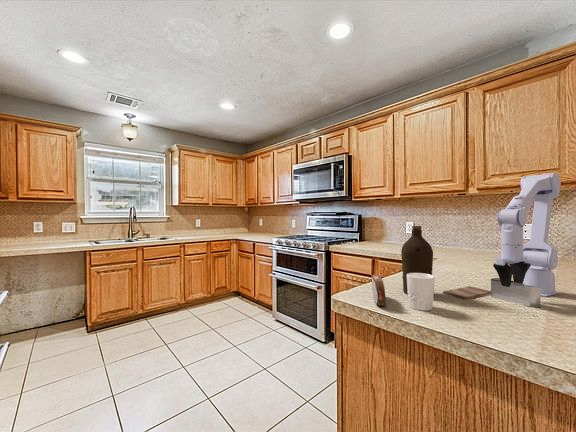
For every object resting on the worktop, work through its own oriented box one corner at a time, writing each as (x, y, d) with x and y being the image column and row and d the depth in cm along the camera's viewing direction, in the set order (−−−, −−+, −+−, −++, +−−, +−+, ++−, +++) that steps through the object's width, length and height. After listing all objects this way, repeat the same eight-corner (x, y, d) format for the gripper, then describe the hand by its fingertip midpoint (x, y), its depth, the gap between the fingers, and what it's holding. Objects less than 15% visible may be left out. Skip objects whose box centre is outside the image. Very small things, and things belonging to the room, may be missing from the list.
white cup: (432, 304, 86) (431, 273, 86) (437, 313, 78) (437, 279, 78) (405, 302, 88) (405, 272, 88) (408, 310, 81) (407, 277, 81)
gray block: (496, 295, 95) (496, 277, 95) (542, 306, 83) (542, 286, 83) (490, 296, 93) (490, 278, 93) (537, 308, 81) (536, 287, 81)
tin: (386, 309, 81) (386, 282, 81) (375, 309, 82) (375, 281, 82) (379, 295, 96) (379, 272, 96) (370, 294, 97) (370, 271, 97)
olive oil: (440, 296, 94) (439, 226, 94) (413, 298, 92) (412, 226, 92) (420, 288, 104) (420, 225, 104) (395, 290, 102) (395, 225, 103)
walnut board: (469, 288, 104) (469, 286, 104) (492, 293, 97) (492, 291, 97) (442, 293, 97) (442, 291, 97) (465, 299, 90) (465, 297, 90)
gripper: (514, 246, 82) (514, 290, 82) (538, 244, 88) (538, 285, 88) (489, 244, 89) (489, 285, 88) (512, 242, 95) (513, 280, 95)
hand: (512, 285), depth 89 cm, fingers open, 7 cm apart
